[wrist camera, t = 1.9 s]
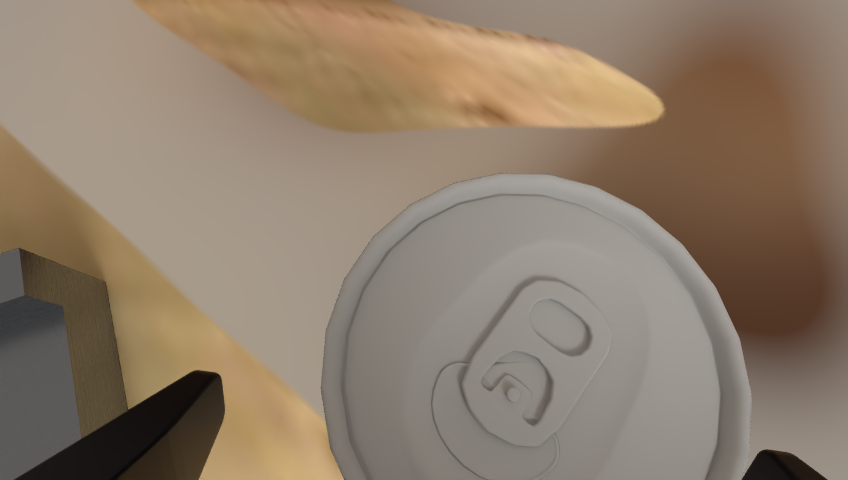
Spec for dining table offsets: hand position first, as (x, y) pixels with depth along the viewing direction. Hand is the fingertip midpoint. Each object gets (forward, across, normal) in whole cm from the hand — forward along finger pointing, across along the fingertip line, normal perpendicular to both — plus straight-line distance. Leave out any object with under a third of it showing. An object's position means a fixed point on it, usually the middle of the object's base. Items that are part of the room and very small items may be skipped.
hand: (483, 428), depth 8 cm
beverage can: (+7, 0, +6) cm, 9 cm away
